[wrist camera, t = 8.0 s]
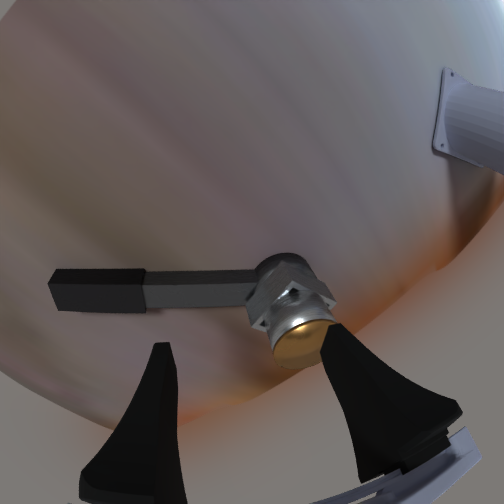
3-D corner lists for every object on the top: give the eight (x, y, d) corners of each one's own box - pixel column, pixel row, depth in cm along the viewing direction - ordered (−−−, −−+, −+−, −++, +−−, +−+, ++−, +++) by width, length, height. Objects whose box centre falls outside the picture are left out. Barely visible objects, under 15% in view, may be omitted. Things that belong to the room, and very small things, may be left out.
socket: (325, 282, 21) (356, 332, 17) (289, 322, 23) (309, 373, 18) (281, 259, 19) (308, 313, 15) (244, 304, 21) (258, 362, 16)
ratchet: (315, 252, 22) (337, 283, 19) (303, 300, 25) (319, 334, 21) (52, 256, 18) (31, 288, 14) (69, 305, 20) (55, 339, 17)
